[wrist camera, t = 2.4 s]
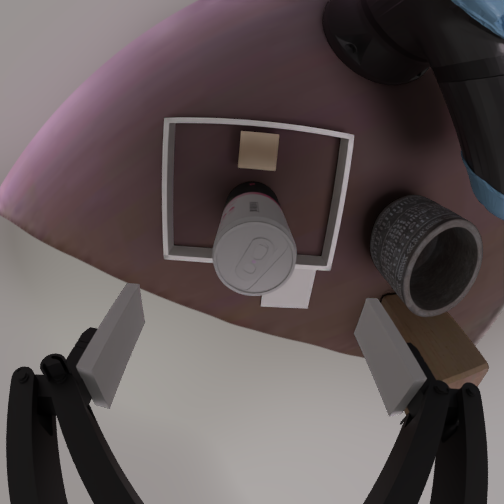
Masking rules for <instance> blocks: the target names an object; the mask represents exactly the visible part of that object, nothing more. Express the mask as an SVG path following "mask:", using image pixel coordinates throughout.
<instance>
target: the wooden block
mask: <svg viewBox="0 0 504 504" xmlns="http://www.w3.org/2000/svg"><path fill="white" fill-rule="evenodd" d="M381 304H382V306H383V307H384V309H385V310H386V312H387V314H388V315H389V317H390V318H391V320H392V321H393V323H394V324H395V326H396V328H397V329H398V331H399V332H400V334H401V335H402V337H403V339H404V340H405V342H406V343H410V342H411V343H412V344H413V345H414V346H415V347H416V348H417V349H418V350H419V352H420V354H421V356H422V357H423V359H424V362H426V363H427V365H428V367H429V368H430V370H431V372H432V374H433V375H434V377H435V379H436V380H441V381H443V382H445V383H446V384H447V385H448V386H449V388H453V389H460V388H461V387H462V385H463V384H464V383H466V382H470V383H473V384H475V385H476V386H477V387H478V385H479V384H480V382H481V381H482V379H483V378H484V376H485V375H486V373H487V372H488V369H489V366H488V363H487V362H486V360H485V359H484V358H483V356H482V355H481V354H480V352H479V351H478V349H477V348H476V347H475V345H474V344H473V343H472V341H471V340H470V339H469V338H468V336H467V335H466V334H465V333H464V331H463V330H462V329H461V328H460V326H459V325H458V324H457V323H456V321H455V320H454V319H453V318H452V317H451V315H450V314H449V313H448V312H445V313H442V314H440V315H437V316H432V317H421V316H418V315H415V314H414V313H412V312H411V311H410V310H409V309H408V308H407V306H406V305H405V304H404V302H403V301H402V300H401V299H400V297H399V296H398V295H397V294H394V295H386V296H384V297H383V299H382V302H381ZM404 411H405V414H406V415H407V414H408V413H409V410H408V408H407V407H406V409H405V410H404Z"/></svg>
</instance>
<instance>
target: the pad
mask: <svg viewBox="0 0 504 504" xmlns="http://www.w3.org/2000/svg"><path fill="white" fill-rule="evenodd" d="M315 272H316V270H309V269H294V271H293V273H292V275H291V277H290V278H289V280H288V281H287V282H286V283H285V284H284V285H283V286H282V287H281V288H279V289H277V290H276V291H274V292H271V293H269V294H265V295H262V298H261V306H265V307H285V308H308V304H309V299H310V295H311V291H312V286H313V282H314V277H315Z"/></svg>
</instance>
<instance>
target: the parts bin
mask: <svg viewBox="0 0 504 504" xmlns="http://www.w3.org/2000/svg"><path fill="white" fill-rule="evenodd" d="M176 123H203V124H228V125H244V126H257V127H267V128H277V129H286V130H293V131H301V132H308V133H315V134H321V135H327V136H333V137H338V138H341V141H340V149H339V156H338V163H337V170H336V177H335V184H334V190H333V196H332V202H331V208H330V214H329V219H328V225H327V230H326V236H325V241H324V246H323V251H322V256H312V255H298V254H297V259H296V264H295V268H294V269H309V270H326V271H330V270H331V265H332V261H333V256H334V252H335V247H336V243H337V238H338V233H339V228H340V223H341V218H342V212H343V207H344V201H345V196H346V190H347V184H348V178H349V171H350V165H351V158H352V151H353V143H354V135H352V134H347V133H342V132H337V131H331V130H325V129H319V128H313V127H307V126H300V125H292V124H284V123H276V122H266V121H255V120H242V119H226V118H191V117H179V118H164V131H163V156H162V224H163V250H164V259H170V260H182V261H195V262H208V263H213V259H212V251H213V248H202V247H188V246H174V229H173V181H174V148H175V128H176Z"/></svg>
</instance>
